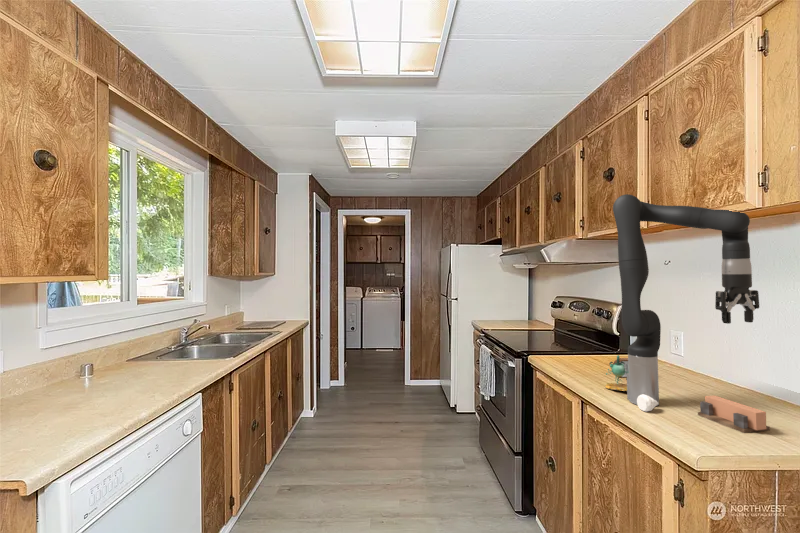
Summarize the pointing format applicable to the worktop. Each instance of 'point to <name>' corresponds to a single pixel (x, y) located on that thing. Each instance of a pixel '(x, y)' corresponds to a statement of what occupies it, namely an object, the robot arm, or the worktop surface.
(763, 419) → the terracotta clay brick
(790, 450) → the worktop surface
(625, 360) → the tin
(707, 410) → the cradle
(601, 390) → the worktop surface
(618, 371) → the frog figurine
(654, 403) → the garlic bulb
